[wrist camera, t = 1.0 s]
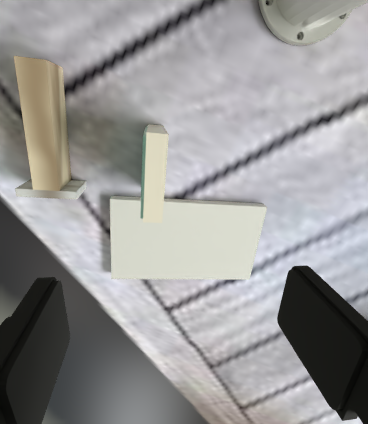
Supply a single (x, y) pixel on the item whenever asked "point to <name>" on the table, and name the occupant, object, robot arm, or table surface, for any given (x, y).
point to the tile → (153, 173)
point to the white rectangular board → (185, 239)
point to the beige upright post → (45, 130)
